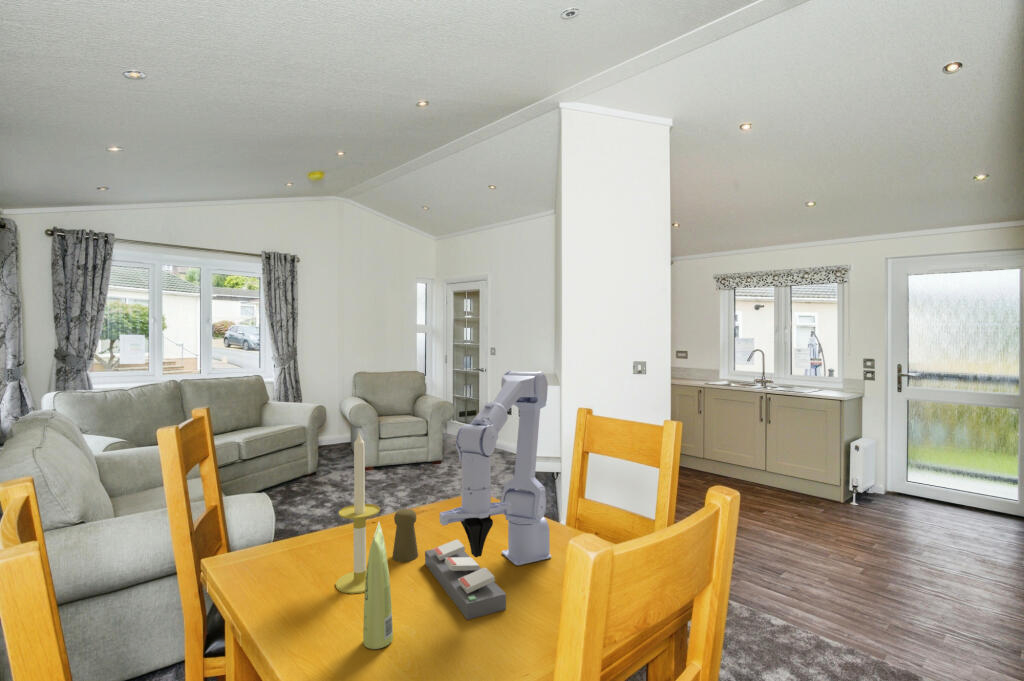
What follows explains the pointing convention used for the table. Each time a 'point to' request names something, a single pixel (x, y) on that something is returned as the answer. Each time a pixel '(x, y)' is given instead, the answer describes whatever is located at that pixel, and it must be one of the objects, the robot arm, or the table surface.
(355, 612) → the table surface
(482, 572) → the rocker
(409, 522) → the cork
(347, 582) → the candle
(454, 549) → the rocker
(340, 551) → the table surface
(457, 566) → the rocker
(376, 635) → the tube
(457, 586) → the strip
